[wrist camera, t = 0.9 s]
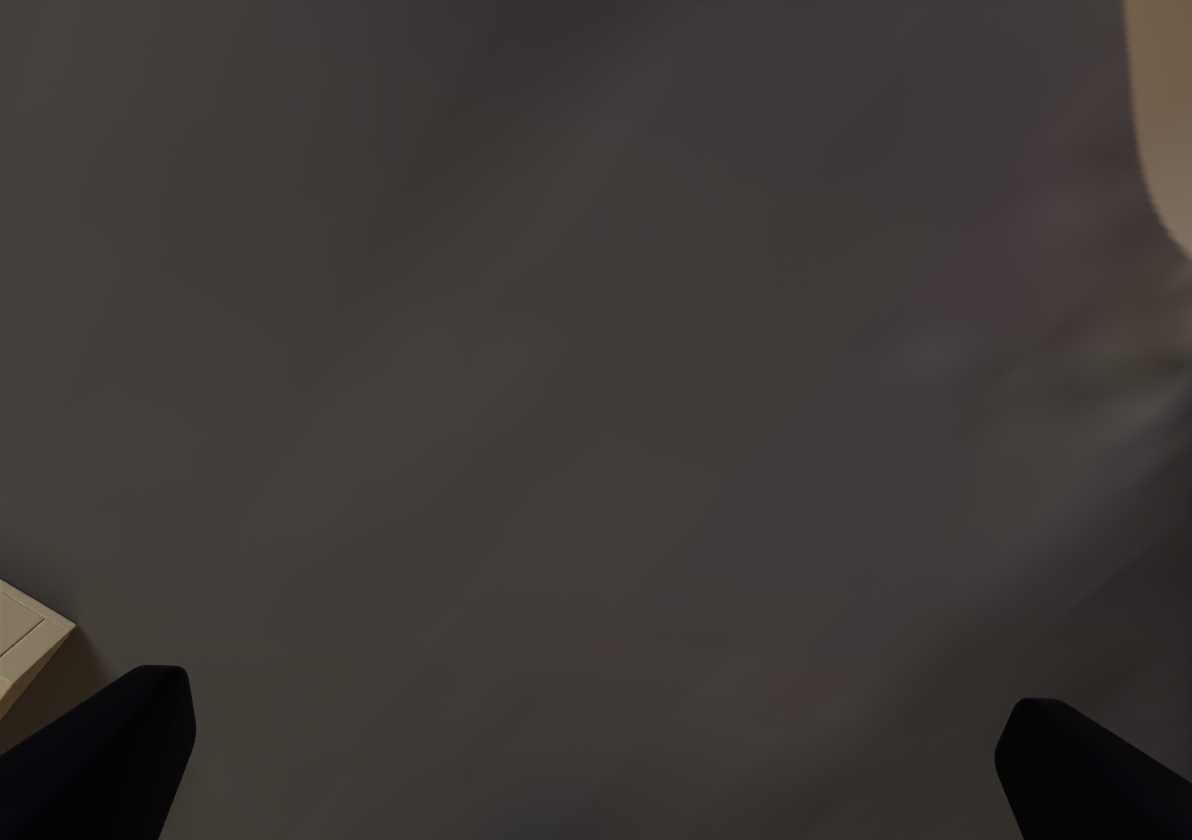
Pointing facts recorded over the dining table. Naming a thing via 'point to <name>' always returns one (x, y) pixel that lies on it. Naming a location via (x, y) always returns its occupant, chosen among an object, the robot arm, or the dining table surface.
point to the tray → (25, 641)
